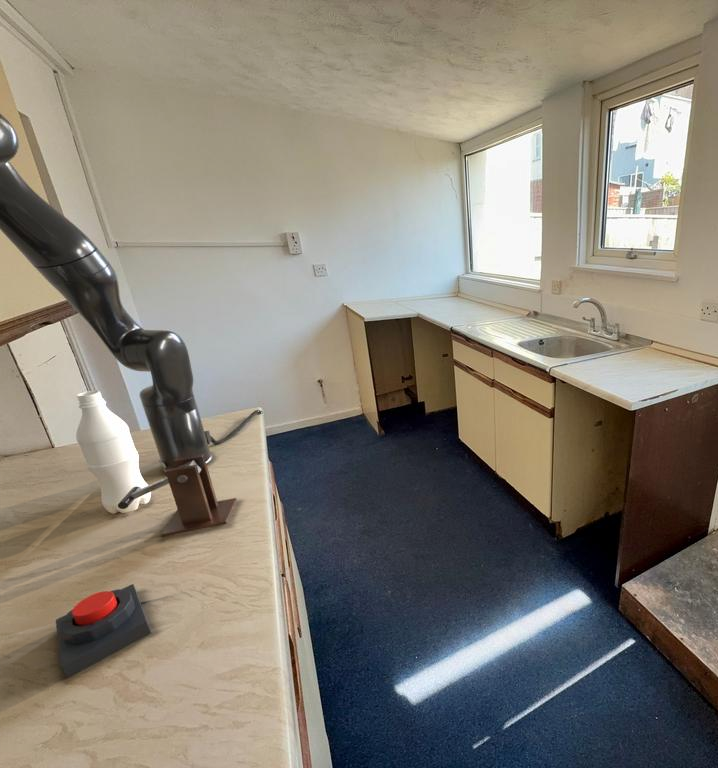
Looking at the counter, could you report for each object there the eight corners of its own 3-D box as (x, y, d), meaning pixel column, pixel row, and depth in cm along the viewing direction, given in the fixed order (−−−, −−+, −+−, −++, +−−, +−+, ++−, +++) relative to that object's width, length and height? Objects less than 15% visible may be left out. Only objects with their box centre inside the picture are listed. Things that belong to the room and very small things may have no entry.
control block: (61, 631, 55) (50, 609, 54) (137, 594, 61) (129, 574, 59) (67, 679, 49) (55, 656, 48) (151, 633, 55) (142, 611, 53)
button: (74, 614, 53) (70, 604, 53) (115, 595, 56) (111, 586, 56) (77, 631, 51) (72, 621, 50) (119, 611, 54) (115, 601, 53)
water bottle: (125, 520, 77) (79, 402, 69) (97, 515, 78) (48, 398, 70) (163, 498, 84) (125, 388, 75) (136, 494, 85) (96, 385, 77)
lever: (123, 512, 70) (113, 502, 69) (137, 496, 74) (128, 486, 73) (195, 479, 72) (186, 469, 71) (204, 465, 77) (196, 456, 76)
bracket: (162, 539, 72) (141, 479, 68) (179, 513, 79) (161, 457, 75) (227, 526, 76) (210, 468, 71) (237, 502, 83) (223, 448, 78)
